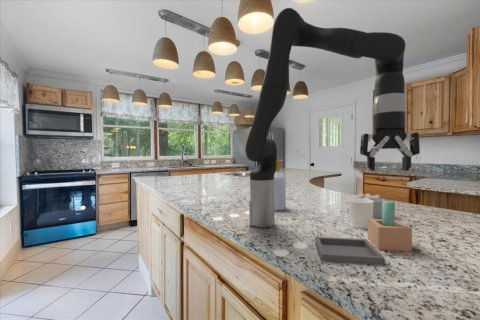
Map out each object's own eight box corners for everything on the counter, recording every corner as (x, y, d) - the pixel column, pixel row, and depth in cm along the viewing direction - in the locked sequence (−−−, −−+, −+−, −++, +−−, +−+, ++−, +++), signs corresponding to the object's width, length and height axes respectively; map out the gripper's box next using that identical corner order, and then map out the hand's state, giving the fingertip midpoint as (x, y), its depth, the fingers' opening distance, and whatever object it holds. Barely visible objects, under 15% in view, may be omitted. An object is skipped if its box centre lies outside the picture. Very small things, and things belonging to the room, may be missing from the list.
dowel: (384, 246, 65) (385, 203, 65) (380, 241, 68) (380, 201, 68) (396, 246, 65) (396, 203, 64) (391, 242, 67) (391, 201, 67)
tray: (321, 264, 57) (321, 254, 57) (315, 245, 69) (315, 236, 69) (384, 268, 55) (384, 258, 55) (366, 247, 66) (366, 239, 66)
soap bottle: (275, 212, 107) (275, 160, 106) (264, 207, 116) (263, 159, 115) (290, 209, 111) (290, 159, 110) (278, 205, 119) (278, 159, 119)
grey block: (362, 218, 95) (362, 197, 95) (349, 210, 108) (349, 192, 108) (389, 218, 95) (389, 197, 94) (372, 210, 108) (372, 192, 107)
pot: (378, 252, 63) (378, 227, 63) (367, 241, 71) (367, 218, 71) (411, 254, 62) (411, 228, 61) (396, 243, 70) (397, 219, 69)
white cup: (377, 232, 79) (377, 203, 78) (351, 231, 80) (351, 202, 80) (369, 225, 86) (369, 198, 86) (346, 224, 88) (346, 197, 88)
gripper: (366, 111, 63) (365, 171, 63) (425, 108, 60) (425, 171, 61) (357, 115, 70) (357, 169, 71) (410, 113, 67) (409, 169, 68)
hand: (388, 170), depth 66 cm, fingers open, 8 cm apart
